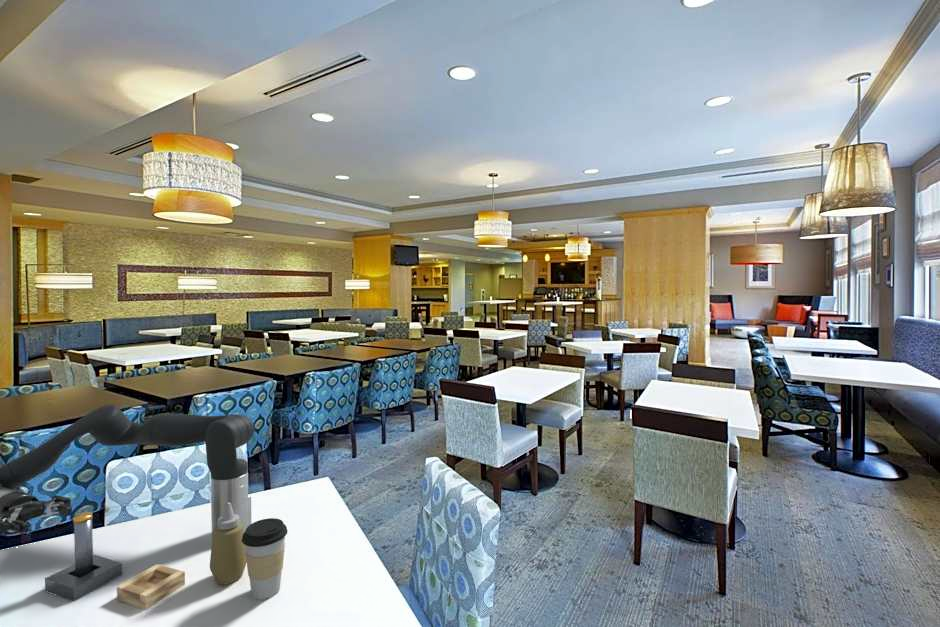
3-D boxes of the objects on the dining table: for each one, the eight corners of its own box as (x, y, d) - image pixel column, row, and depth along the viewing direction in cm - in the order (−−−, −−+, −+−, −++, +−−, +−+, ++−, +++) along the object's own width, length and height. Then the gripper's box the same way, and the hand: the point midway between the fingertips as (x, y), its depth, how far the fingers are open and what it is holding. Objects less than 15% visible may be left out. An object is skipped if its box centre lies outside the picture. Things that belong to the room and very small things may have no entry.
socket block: (94, 566, 111) (94, 554, 111) (122, 574, 108) (121, 562, 108) (45, 591, 102) (44, 578, 102) (73, 601, 98) (73, 588, 98)
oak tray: (157, 576, 107) (157, 563, 107) (184, 584, 104) (184, 571, 104) (117, 600, 99) (116, 586, 99) (145, 609, 96) (145, 596, 96)
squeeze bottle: (255, 571, 110) (254, 498, 109) (228, 591, 102) (226, 514, 101) (230, 564, 112) (229, 493, 112) (201, 583, 105) (200, 508, 104)
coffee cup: (271, 608, 97) (270, 540, 96) (232, 602, 98) (231, 535, 98) (296, 580, 106) (295, 518, 105) (261, 575, 108) (260, 514, 107)
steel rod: (88, 577, 107) (86, 510, 106) (97, 580, 106) (95, 513, 105) (71, 585, 104) (69, 517, 103) (81, 588, 103) (79, 520, 102)
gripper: (45, 508, 120) (82, 521, 114) (-30, 535, 107) (9, 550, 101) (44, 481, 120) (82, 492, 114) (-30, 504, 106) (8, 517, 101)
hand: (48, 519), depth 107 cm, fingers open, 8 cm apart
